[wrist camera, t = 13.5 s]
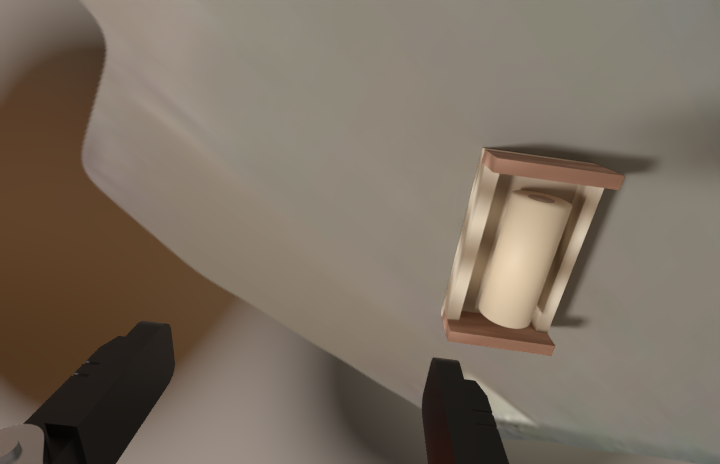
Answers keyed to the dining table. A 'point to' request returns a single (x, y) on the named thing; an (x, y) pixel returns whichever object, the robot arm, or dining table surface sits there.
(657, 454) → the dining table surface
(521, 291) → the paper roll
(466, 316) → the roll holder
